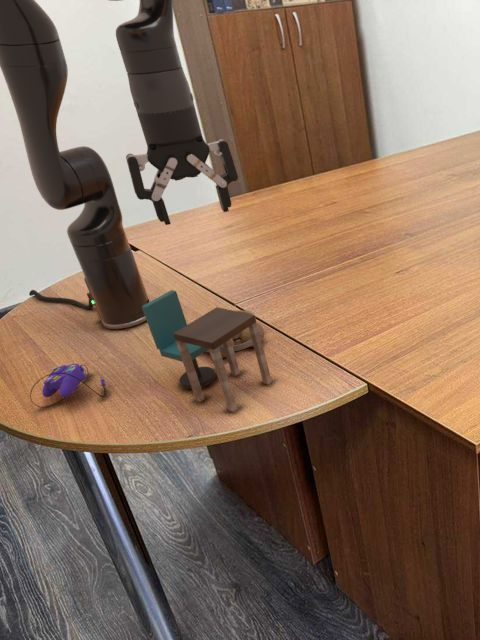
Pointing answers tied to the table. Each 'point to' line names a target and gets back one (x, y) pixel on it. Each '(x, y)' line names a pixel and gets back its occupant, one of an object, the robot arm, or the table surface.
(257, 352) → the desk
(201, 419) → the table surface
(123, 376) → the table surface
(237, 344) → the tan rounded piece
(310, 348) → the table surface
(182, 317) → the chair
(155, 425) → the table surface
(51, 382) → the game controller
